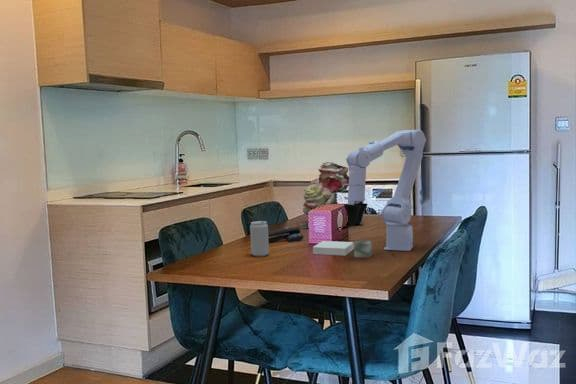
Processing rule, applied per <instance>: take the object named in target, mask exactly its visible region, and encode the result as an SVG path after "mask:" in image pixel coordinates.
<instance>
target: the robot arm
mask: <svg viewBox="0 0 576 384" xmlns="http://www.w3.org/2000/svg"><path fill="white" fill-rule="evenodd" d="M426 142H427V138H426V136H425V133H424V132H423V130H421V129H406V130H405V129H399V130H398V131H394V133H393V134H391V135H389V136H388V137H386V138H384V139H383V140H380V141H379V142H378V141H374V140H371V141H369V142H368V144H366V145H365V146H360V147H359V149H357V150H351V151H350V152H349V153H348V155H347V157H346V158H345V161H346V164H347V166H348V174H349V175H348V177H349V185H348V188H347V190H348V193H347V196H346V197H344V200H347V203H344V204H343V207H344V209H345V211H346V212H345V213H346V215H347V216H348V222H349V223H348V226H356V225H362V224H361V221H362V220H363V217H364V212H365V210H366V208H367V207H368V203H365V201H366V198H365V197H366V179H367V167H369V165H370V163H371V162H374V160H375V161H376V159H377V160H378V158H380V157H382V156H383V155H384V151H387V150H388V149H389V150H390V148H393V147H395V146H397V147H398V148H399V149H400V150H401V152H402V153H403V155H405V157H406V158H405V161H404V164H403V166H402V170H401V174H400V176H399V178H398V179H399V180H398V181H397V182H398V183H397V185H396V188H395V191H394V194H393V196H392V197H391V198H389V199H388V200H387V201H386V204H385V206H384V207H383V208H382V211H381V218H382V220H383V221H384V224H385V226H386V227H385V228H386V229H385V233H386V235H385V237H386V242H385V243H386V244H385V246H384V247H383V250H384V251H405V252H409V251H411V250H412V249H413V247H414V241H413V240H414V239H413V238H414V235H413V234H414V233H413V232H414V230H413V229H414V228H413V225H410V224H409V223H410V221H411V217H412V209H413V206H412V205H411V203H410V202H409V199H410V197H411V193H412V190H413V187H414V184H415V183H416V182H415V181H416V178H417V176H418V175H417V174H418V172H419V170H420V165H421V163H422V160H423V155H424V148H425V146H426V145H425V144H426ZM362 222H363V221H362ZM356 223H357V224H356Z"/></svg>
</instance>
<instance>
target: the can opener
mask: <svg viewBox="0 0 576 384" xmlns="http://www.w3.org/2000/svg"><path fill="white" fill-rule="evenodd" d="M303 239H304V235H303V234H302V233H301V228H300V227H299V226H297V227H284V228H281V229H278V230H273V231H270V232H269V231H268V241H269V244H271V243H275V242H279V241H283V240H286V241H288V242H290V243H293V242H295V241H296V242H300V241H302V240H303Z"/></svg>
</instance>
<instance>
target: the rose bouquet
mask: <svg viewBox="0 0 576 384" xmlns="http://www.w3.org/2000/svg"><path fill="white" fill-rule="evenodd" d="M319 167H320V168H318V169H317V170H318V172H319V175H318V178H315V179H312V180H311V181H310V183H309V184H307V188H305V189H304V194H303V199H304V200H305V201H304V203H303V205H302V206H303V208H302V212H303V213H304V214H305V215H307V216H308V212H309V211H310V210H312V209H315V208H317V207H320V206H322V205H326V204H338V205H339V203H338V199H337V198H338V196H337V194H338V193H339V194H348V188H349V175H348V173H349V167H347V166H343V165H339V164H338V163H335V162H334V161H330V162H329V161H326V162H322V164H320V165H319ZM308 223H309V222H304V223H300V224H299V225H300V226H299V228H300V227H306V228H307V229H308ZM356 225H358V224H357V223H356ZM360 225H362V226H364V225H363V221H361V224H360ZM348 226H349V227H351V225H348ZM349 227H348V228H349Z"/></svg>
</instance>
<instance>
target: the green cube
mask: <svg viewBox="0 0 576 384" xmlns="http://www.w3.org/2000/svg"><path fill="white" fill-rule="evenodd" d="M372 248H373V247H372V240H356V241H355V242H354V249H353V250H354V255H353V256H354V258H362V257H363V258H365V259H369V258H371V256H372V255H373V253H372V252H373V249H372Z"/></svg>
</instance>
